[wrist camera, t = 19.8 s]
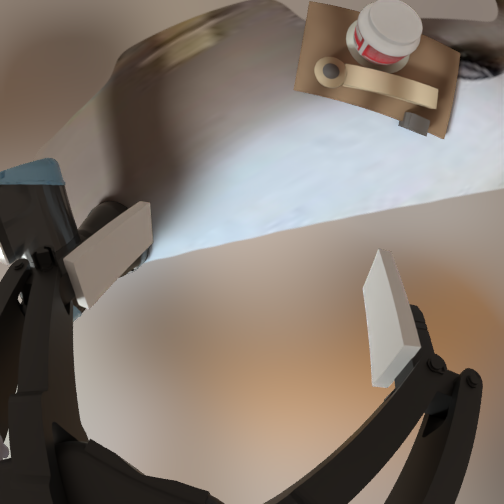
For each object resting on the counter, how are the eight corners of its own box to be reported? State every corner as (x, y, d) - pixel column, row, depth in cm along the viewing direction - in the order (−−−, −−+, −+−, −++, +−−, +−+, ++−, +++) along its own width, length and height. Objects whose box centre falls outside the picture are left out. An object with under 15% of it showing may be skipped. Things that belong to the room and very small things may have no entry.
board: (294, 95, 30) (289, 93, 26) (310, 5, 22) (307, -8, 18) (438, 142, 27) (452, 148, 23) (455, 54, 19) (470, 50, 15)
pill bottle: (411, 55, 21) (443, 38, 12) (373, 74, 24) (393, 61, 15) (380, 15, 19) (398, -17, 10) (341, 34, 23) (345, 5, 13)
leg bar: (314, 86, 27) (312, 83, 24) (316, 59, 25) (315, 53, 22) (427, 112, 24) (437, 113, 21) (430, 85, 22) (440, 84, 19)
